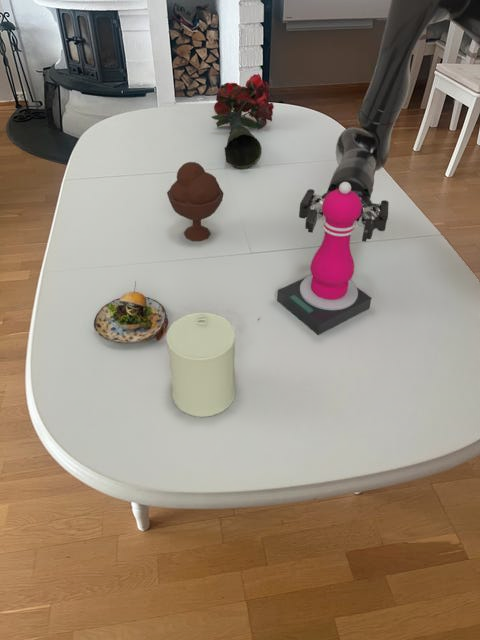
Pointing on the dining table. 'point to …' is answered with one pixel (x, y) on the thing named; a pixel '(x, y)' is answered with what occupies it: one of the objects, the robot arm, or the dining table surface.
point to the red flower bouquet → (243, 119)
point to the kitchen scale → (322, 305)
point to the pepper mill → (336, 244)
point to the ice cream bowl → (195, 198)
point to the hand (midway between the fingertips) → (337, 232)
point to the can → (202, 363)
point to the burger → (131, 319)
